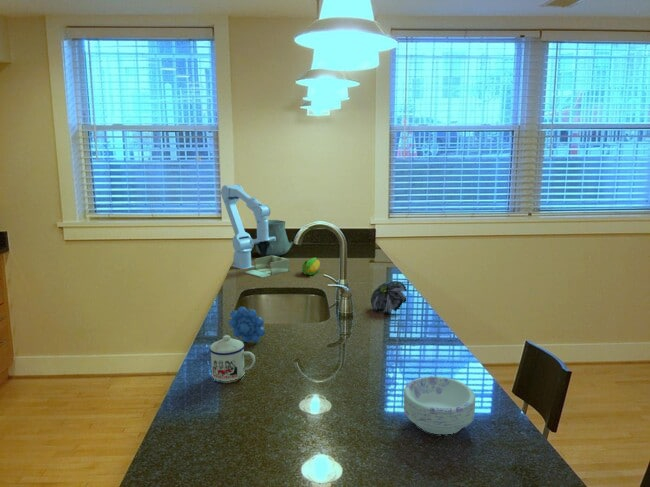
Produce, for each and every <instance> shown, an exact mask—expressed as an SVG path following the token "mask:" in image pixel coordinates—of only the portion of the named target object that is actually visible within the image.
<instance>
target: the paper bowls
mask: <svg viewBox="0 0 650 487" xmlns="http://www.w3.org/2000/svg"><path fill="white" fill-rule="evenodd" d="M475 395H476V394H475V392H474V391H473V389H472V388H471V387H469V386H468V385H467V384H465V383H463V382H462V381H459V380H456V379H454V378H451V377H450V378H449V377H445V376H433V375H431V376H423V377H421V376H420V377H418V378H415V379H413V380H411V381H409V382H408V383H407V384H406V385H405V387H404V389H403V412H404V414H405V416H406V417H407V419H409V420H410V421H411V422H412V423H413V424H414V425H416V427H418V426H419V427H420V428H422V429H423V430H425V431H427V432H430V433H434V434H451V435H453V433H454V434H457V433H458V432H459V431H460V430H462V429H463V428H465V427H467V426H469V425H471V423H473V421H474V418H475V411H476V396H475ZM419 427H418V428H419ZM420 428H419V429H420ZM423 430H422V431H423ZM425 431H424V432H425ZM427 432H426V433H427ZM430 433H429V434H430Z"/></svg>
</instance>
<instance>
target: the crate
mask: <svg viewBox="0 0 650 487" xmlns="http://www.w3.org/2000/svg"><path fill="white" fill-rule="evenodd" d="M254 266H255V267H254V270H257V271H260V272H264V273H268V274H270V276H273V275H278V274H283V273H286V272H290V259H289V258H284V257H280V256H269V255H266V257H262V256H260V257H258V258H254Z"/></svg>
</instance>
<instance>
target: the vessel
mask: <svg viewBox="0 0 650 487" xmlns="http://www.w3.org/2000/svg"><path fill="white" fill-rule="evenodd" d="M268 235H269V237H276V241H268V242H270V245H269V247H268V249H267V252H266V256H277V257H280V256H283V255H285V254H287V253H288V252H289V250H290V249H291V247H292V246H293V241H289V239H288V236H287V232H286V221H284V220H279V219H268ZM255 251H256V252H257V253H258V254H259V255H261V253H260V250H259V248H258V246H257V245H256V244H255Z"/></svg>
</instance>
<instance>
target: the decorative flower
mask: <svg viewBox="0 0 650 487" xmlns="http://www.w3.org/2000/svg"><path fill="white" fill-rule="evenodd" d="M407 291H408V290H407V287H406V285H405V284H404V283H403V282H401V281H398V280H392V281H387V282H383V283H381V284H380V285H379V286H378V287H377V288H375V290H374V291H373V293H372V294H371V297H370V304H371V305H370V306H371V308H372V311H373V312H374V313H383V314H384V316H390V315H391V314H392V311H394V312H397V310H399V309H400V308H401V307H402V304H403V303H406V302H407V295H405V294H404V293H403V292H407Z"/></svg>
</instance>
